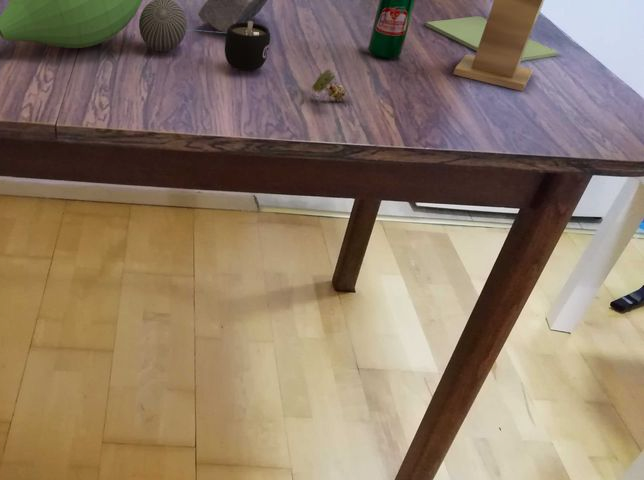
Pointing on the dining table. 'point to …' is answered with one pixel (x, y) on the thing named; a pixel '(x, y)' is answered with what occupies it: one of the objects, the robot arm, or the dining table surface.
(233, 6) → the rock
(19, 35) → the balloon
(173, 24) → the lollipop
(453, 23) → the mat
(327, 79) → the soldier figurine
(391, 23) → the soda can
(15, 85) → the dining table surface
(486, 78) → the stand
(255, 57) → the mug
